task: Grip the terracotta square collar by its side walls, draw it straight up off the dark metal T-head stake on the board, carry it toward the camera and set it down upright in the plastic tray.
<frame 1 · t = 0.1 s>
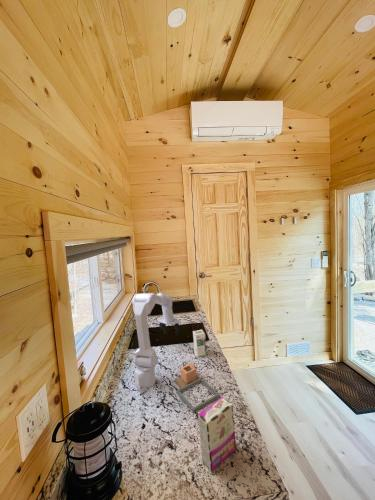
hand: (171, 333, 141), 11 cm above the counter, tool pointing down, fingers open, 7 cm apart
syrup box: (200, 356, 134), on the counter
collar: (188, 378, 113), point 1 cm above the counter, touching stake board
tray: (197, 397, 101), on the counter
stake board: (185, 382, 112), on the counter
candy bar box: (219, 455, 75), on the counter
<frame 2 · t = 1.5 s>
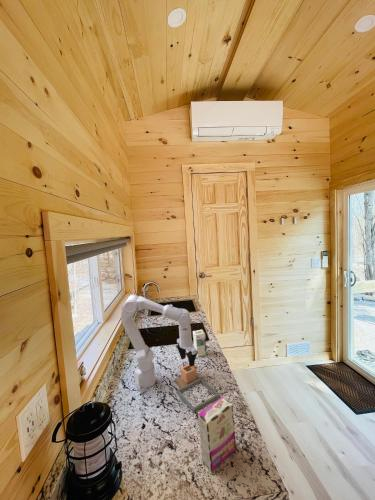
hand: (187, 362, 112), 9 cm above the counter, tool pointing down, fingers open, 7 cm apart
nothing on the counter moved.
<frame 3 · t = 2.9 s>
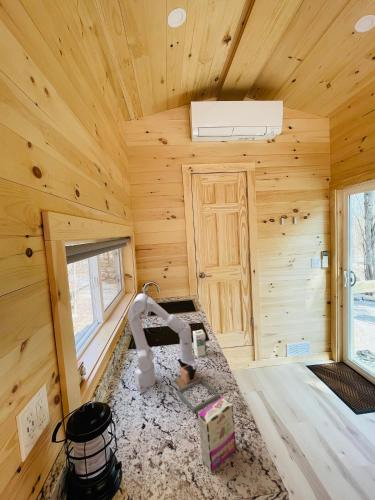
hand: (188, 375, 113), 2 cm above the counter, tool pointing down, fingers closed on collar, 5 cm apart
collar: (188, 378, 113), point 1 cm above the counter, touching gripper, stake board
everything else where it was.
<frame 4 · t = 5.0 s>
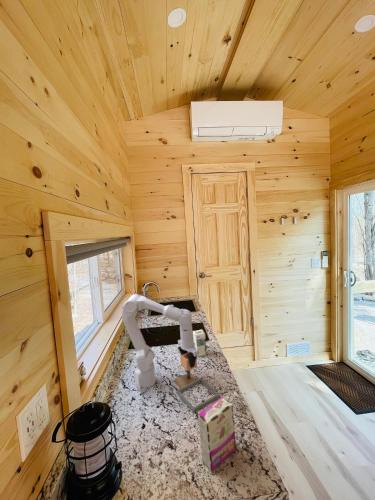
hand: (188, 363, 110), 10 cm above the counter, tool pointing down, fingers closed on collar, 5 cm apart
collar: (189, 366, 110), point 9 cm above the counter, touching gripper
everything else where it was.
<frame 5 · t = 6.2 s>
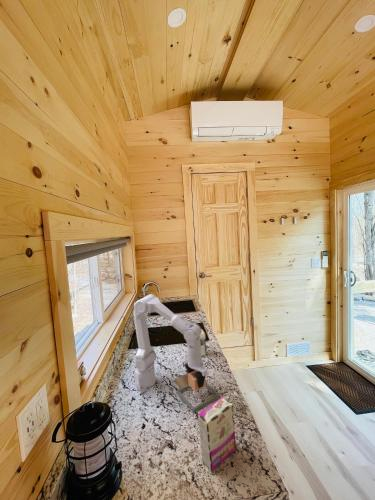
hand: (196, 382, 100), 7 cm above the counter, tool pointing down, fingers closed on collar, 5 cm apart
collar: (197, 385, 101), point 6 cm above the counter, touching gripper
everything else where it was.
when the fingers open (4 cm above the counter, at t = 7.3 s): collar drops 2 cm, resting on tray.
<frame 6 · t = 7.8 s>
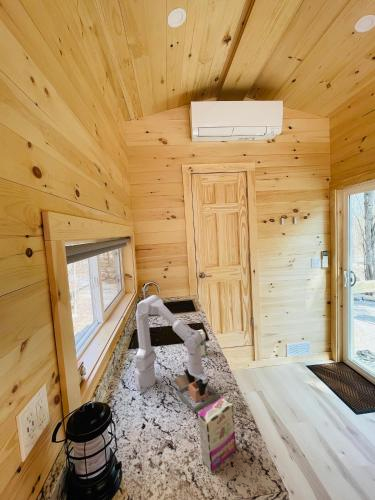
hand: (197, 389, 101), 4 cm above the counter, tool pointing down, fingers open, 7 cm apart
collar: (197, 395, 101), point 1 cm above the counter, touching tray
everything else where it was.
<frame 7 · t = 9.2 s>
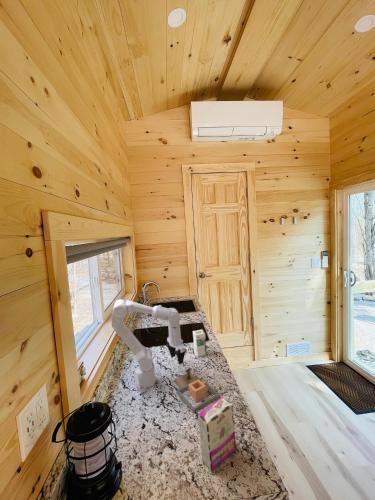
hand: (176, 360, 115), 9 cm above the counter, tool pointing down, fingers open, 7 cm apart
nothing on the counter moved.
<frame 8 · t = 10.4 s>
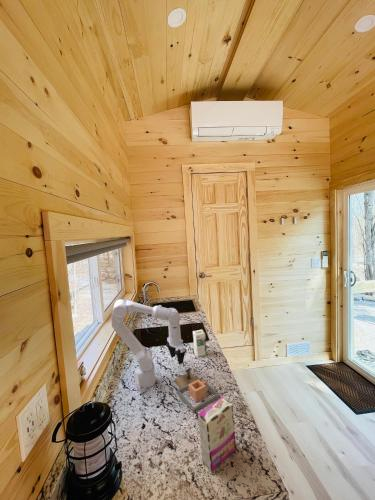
hand: (176, 360, 115), 9 cm above the counter, tool pointing down, fingers open, 7 cm apart
nothing on the counter moved.
at the end: collar inside the target area on the tray (0.1 cm from its centre), point 0.8 cm above the tray's base; collar tilted 0°; the gripper is holding nothing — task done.
